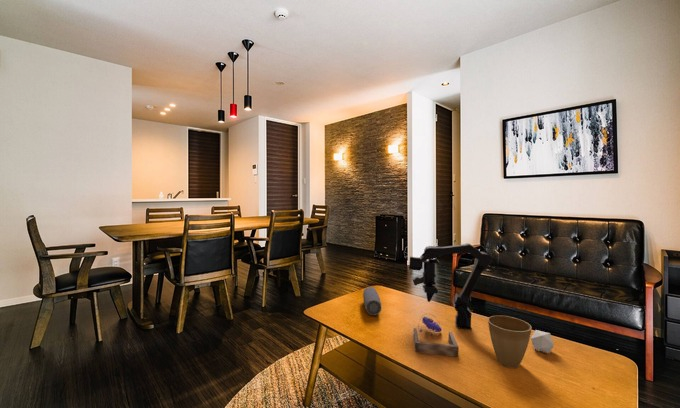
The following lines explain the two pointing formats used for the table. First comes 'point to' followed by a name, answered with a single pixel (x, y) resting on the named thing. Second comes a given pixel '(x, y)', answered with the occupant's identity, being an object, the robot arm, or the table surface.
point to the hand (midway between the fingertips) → (428, 301)
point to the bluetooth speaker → (372, 301)
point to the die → (542, 341)
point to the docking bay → (436, 346)
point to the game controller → (431, 324)
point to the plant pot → (509, 339)
